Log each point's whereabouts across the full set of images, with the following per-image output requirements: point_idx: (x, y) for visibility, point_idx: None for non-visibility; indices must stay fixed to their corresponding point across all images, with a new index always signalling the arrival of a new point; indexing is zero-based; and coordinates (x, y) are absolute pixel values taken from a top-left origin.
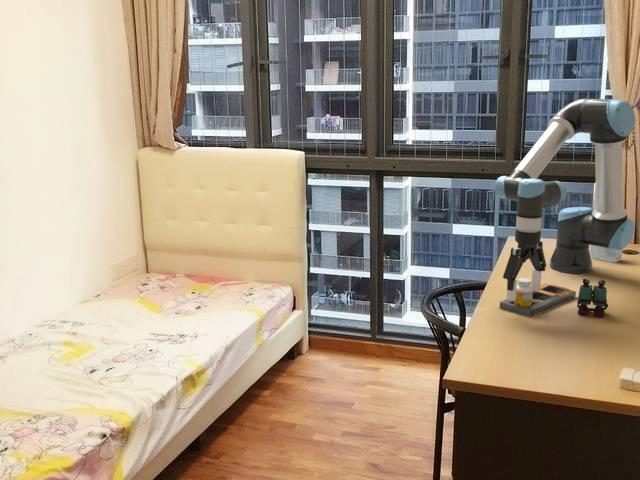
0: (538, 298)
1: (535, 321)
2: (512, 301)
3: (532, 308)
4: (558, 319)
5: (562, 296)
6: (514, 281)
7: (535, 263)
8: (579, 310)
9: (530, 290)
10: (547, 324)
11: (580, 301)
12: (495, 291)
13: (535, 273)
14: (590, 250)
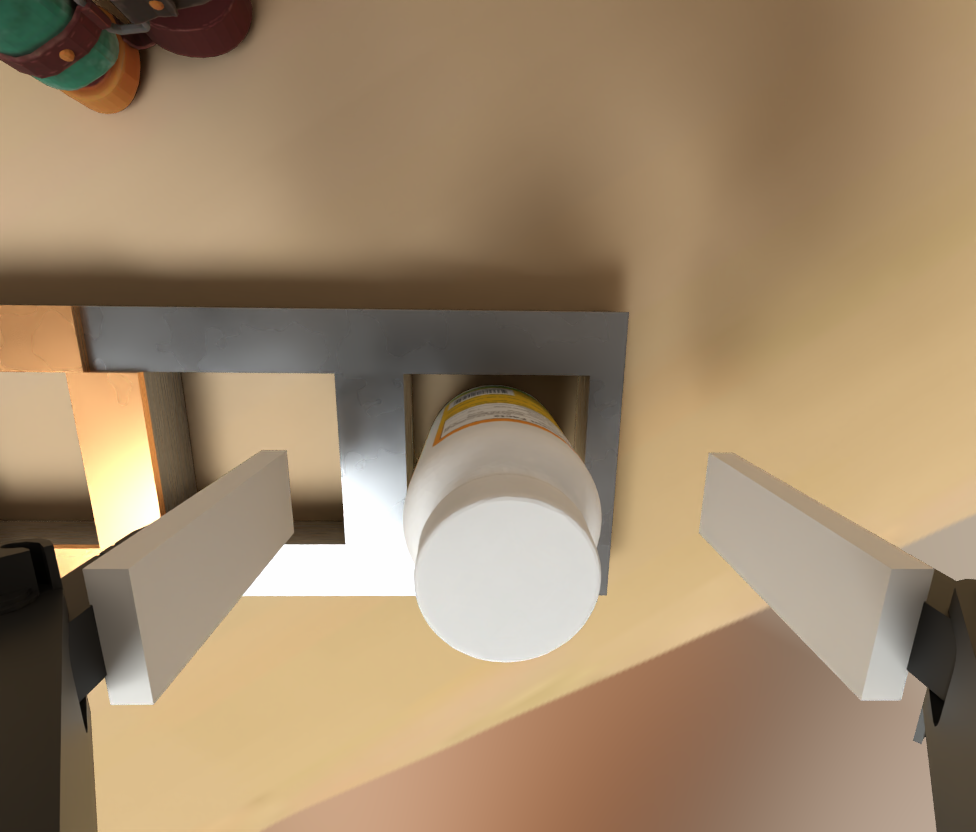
0: (196, 491)
1: (664, 227)
2: None
3: (556, 334)
4: (488, 110)
5: (71, 306)
6: (916, 577)
7: (76, 793)
8: (223, 5)
9: (521, 430)
10: (659, 115)
11: (96, 8)
12: (327, 756)
13: (177, 617)
14: None
